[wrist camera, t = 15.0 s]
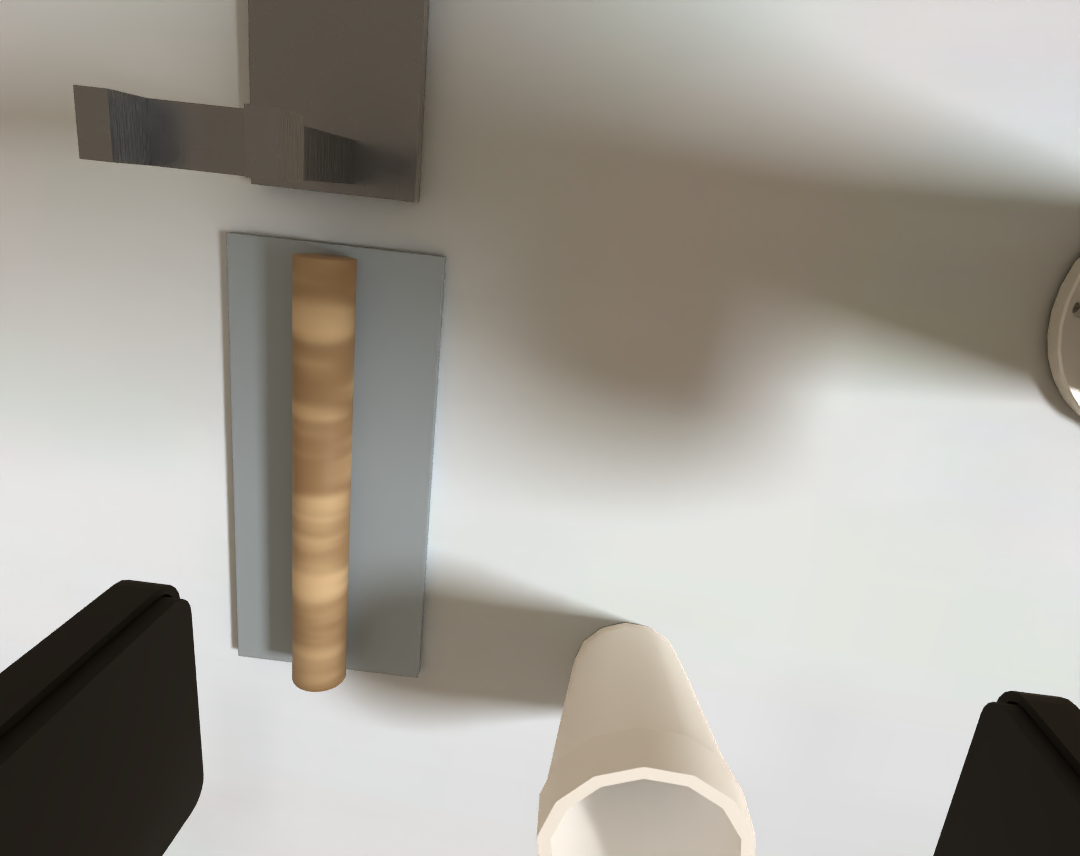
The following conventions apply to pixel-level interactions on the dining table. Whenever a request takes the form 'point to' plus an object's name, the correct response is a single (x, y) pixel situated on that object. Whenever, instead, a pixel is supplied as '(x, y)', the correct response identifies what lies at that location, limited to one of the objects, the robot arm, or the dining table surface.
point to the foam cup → (638, 760)
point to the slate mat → (377, 446)
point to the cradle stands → (292, 105)
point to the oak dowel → (321, 464)
